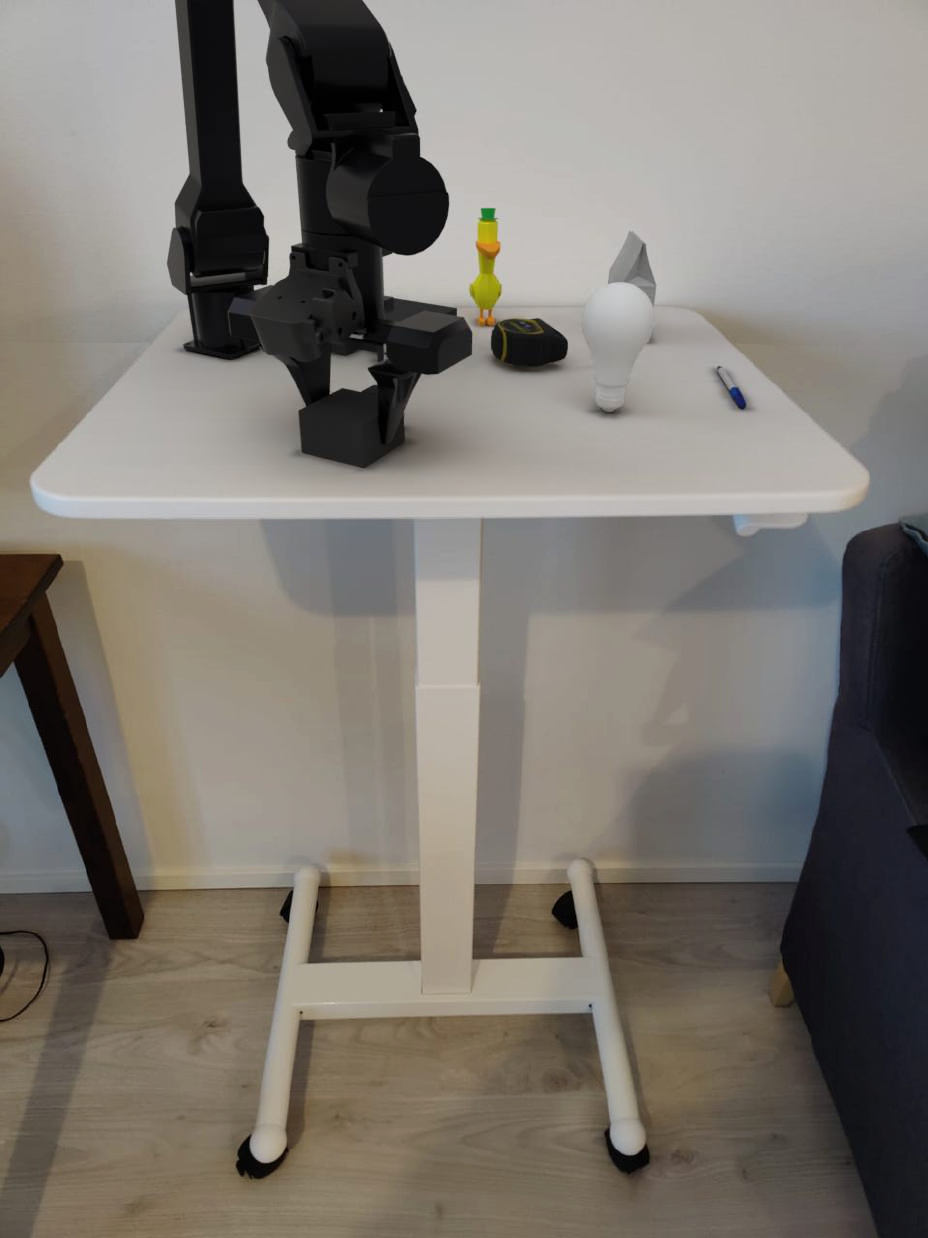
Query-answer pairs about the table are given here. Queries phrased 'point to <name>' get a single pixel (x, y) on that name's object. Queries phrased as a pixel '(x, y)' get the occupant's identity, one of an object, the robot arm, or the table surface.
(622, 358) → the lightbulb
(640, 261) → the grey faceted shape
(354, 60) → the robot arm
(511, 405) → the table surface
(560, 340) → the tape measure
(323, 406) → the pad
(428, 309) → the notch pad
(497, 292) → the toy figure
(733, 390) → the blue marker pen
